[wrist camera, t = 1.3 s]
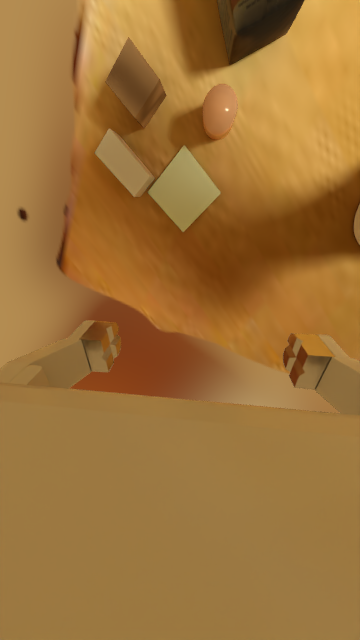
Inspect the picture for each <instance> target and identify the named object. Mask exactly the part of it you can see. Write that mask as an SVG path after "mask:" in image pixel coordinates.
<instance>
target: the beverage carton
mask: <svg viewBox="0 0 360 640" xmlns="http://www.w3.org/2000/svg"><path fill="white" fill-rule="evenodd" d="M303 2H304V0H217V3H218V9H219V14H220V19H221V25H222V30H223V35H224V39H225V44H226V50H227V54H228V59H229V64H233V63H235V62H237V61H238V60H240V59H242V58H243V57H245V56H247V55H249V54H250V53H252V52H254V51H256V50H258V49H260V48H262V47H263V46H265V45H267V44H269V43H270V42H272V41H274V40H276V39H278V38H280V37H281V36H283V35H285V34H286V33H287V32H288V30H289V29H290V27H291V25H292V23H293V21H294V20H295V18H296V16H297V14H298V12H299V10H300V8H301V6H302V4H303Z"/></svg>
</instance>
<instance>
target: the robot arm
mask: <svg viewBox="0 0 360 640" xmlns="http://www.w3.org/2000/svg"><path fill="white" fill-rule="evenodd" d="M354 234H355V238H356V240H357V242H358V243H359V245H360V204H359V206H358V209H357V212H356V215H355V219H354ZM118 331H119V328H118V325H117V323H115V322H102V321H88V320H87V321H84V322H83V323H82V324H81V325H80V326H79V327H78V328H77V329H76V330H75V331H74V333H72V334H71V335H70V336H69V337H68V338H67V339H62V340H60V341H58V342H55V343H52V344H50V345H48V346H45V347H43V348H40V349H38V350H36V351H33V352H31V353H29V354H26V355H24V356H21V357H19V358H17V359H14V360H12V361H9V362H7V363H6V364H5V365H4V366H3V367H2V368H0V640H360V361H358V360H356V359H352V358H349V357H348V356H347V354H346V353H345V352H344V351H343V350H342V349H341V348H340V347H339V345H338V344H337V343H336V342H335V341H334V340H333V339H332V338H331V336H329V335H324V334H292V333H291V334H290V336H289V338H288V343H289V346H288V347H286V348H285V350H284V353H283V363H284V366H285V368H286V369H287V370H288V371H290V375H289V377H290V379H291V381H292V383H293V385H294V387H295V388H304V389H312V390H315V391H316V392H317V393H318V394H320V395H321V396H322V397H323V398H324V399H325V400H326V401H327V402H329V403H330V404H331V405H332V406H333V407H335V409H337V410H338V411H339V412H340V413H341V414H339V413H328V412H316V411H306V410H296V409H284V408H274V407H263V406H252V405H241V404H231V403H220V402H208V401H198V400H187V399H175V398H165V397H154V396H143V395H132V394H121V393H110V392H99V391H89V390H78V389H69V388H70V387H71V386H73V385H74V384H75V383H77V382H78V381H80V380H81V379H82V378H83V377H85V376H86V375H87V374H89V373H90V372H91V371H97V372H109V371H110V369H111V367H112V365H113V363H114V360H113V358H115V357H117V356H118V354H119V352H120V348H121V339H120V337H119V336H118V335H117V332H118Z"/></svg>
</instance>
